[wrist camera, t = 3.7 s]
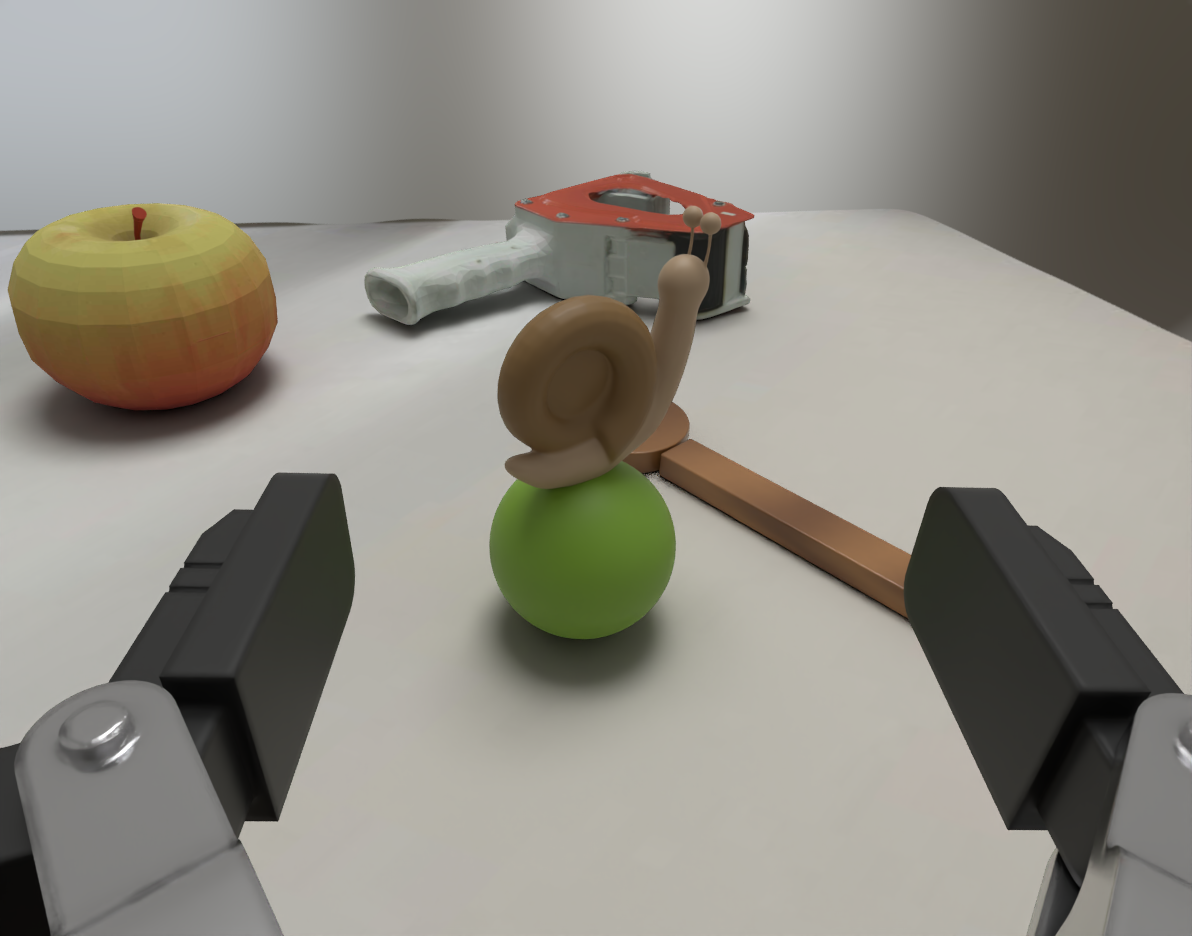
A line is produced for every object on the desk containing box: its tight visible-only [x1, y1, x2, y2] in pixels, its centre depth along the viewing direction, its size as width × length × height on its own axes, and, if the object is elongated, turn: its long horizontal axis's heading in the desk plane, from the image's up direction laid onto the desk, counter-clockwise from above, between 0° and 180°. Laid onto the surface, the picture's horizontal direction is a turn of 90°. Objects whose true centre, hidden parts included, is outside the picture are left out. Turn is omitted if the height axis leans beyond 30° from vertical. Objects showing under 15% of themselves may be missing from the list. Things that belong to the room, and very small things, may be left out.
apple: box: [8, 203, 278, 410], centre depth 35 cm, size 10×10×8 cm
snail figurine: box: [490, 206, 721, 639], centre depth 22 cm, size 5×6×12 cm
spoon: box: [622, 402, 911, 618], centre depth 30 cm, size 20×5×1 cm, turn 44°
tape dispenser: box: [365, 171, 754, 325], centre depth 47 cm, size 18×5×20 cm
